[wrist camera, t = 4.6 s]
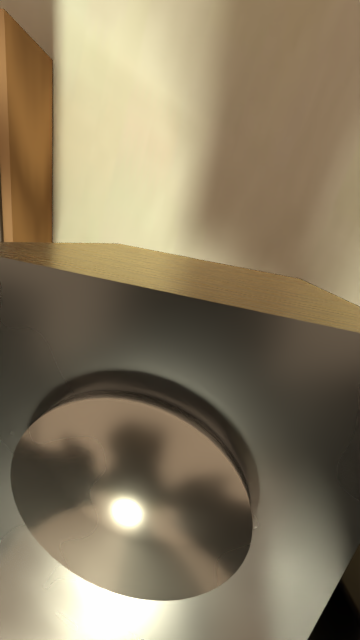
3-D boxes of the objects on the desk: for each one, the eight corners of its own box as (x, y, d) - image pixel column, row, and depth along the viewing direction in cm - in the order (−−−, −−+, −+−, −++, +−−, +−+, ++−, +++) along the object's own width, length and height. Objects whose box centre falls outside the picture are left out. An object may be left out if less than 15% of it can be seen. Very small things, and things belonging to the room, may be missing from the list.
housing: (223, 525, 10) (218, 827, 5) (92, 485, 10) (-36, 716, 5) (300, 279, 7) (483, 365, 2) (117, 243, 7) (-100, 241, 2)
